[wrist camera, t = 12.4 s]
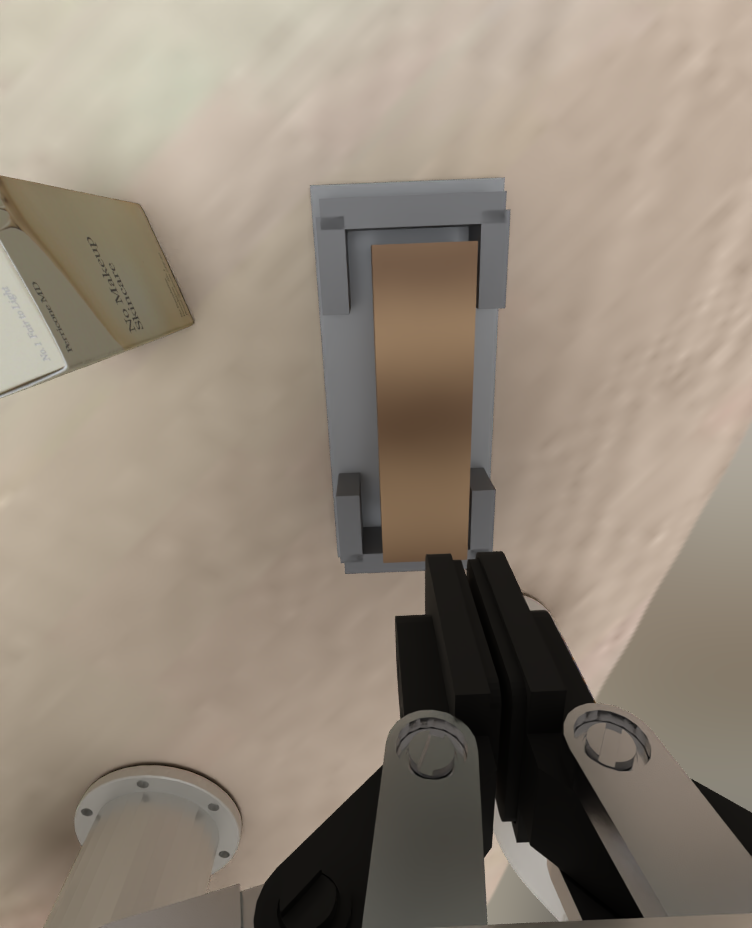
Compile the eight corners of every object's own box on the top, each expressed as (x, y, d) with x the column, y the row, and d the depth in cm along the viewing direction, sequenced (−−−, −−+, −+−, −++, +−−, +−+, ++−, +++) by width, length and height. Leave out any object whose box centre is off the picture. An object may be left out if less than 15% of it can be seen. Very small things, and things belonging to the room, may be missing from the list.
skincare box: (197, 324, 28) (80, 376, 16) (121, 352, 28) (-42, 421, 17) (138, 197, 25) (-44, 157, 14) (57, 230, 26) (-181, 217, 15)
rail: (483, 542, 33) (498, 579, 29) (338, 548, 33) (335, 586, 29) (499, 180, 25) (522, 168, 22) (312, 187, 25) (302, 177, 22)
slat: (449, 503, 31) (467, 559, 25) (380, 506, 31) (383, 563, 25) (453, 242, 26) (477, 240, 20) (370, 245, 26) (371, 244, 20)
